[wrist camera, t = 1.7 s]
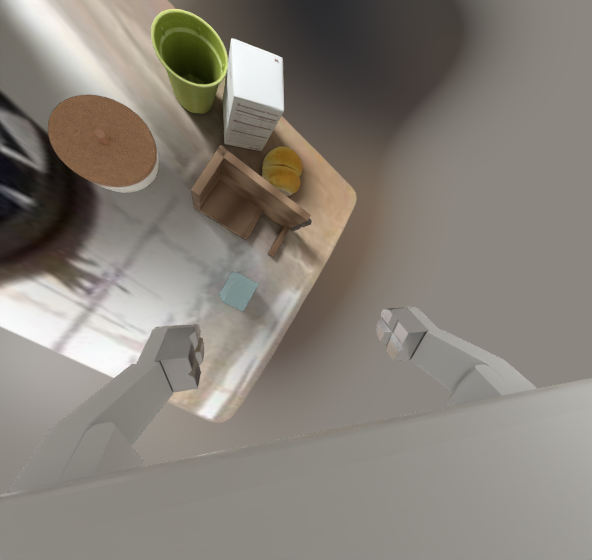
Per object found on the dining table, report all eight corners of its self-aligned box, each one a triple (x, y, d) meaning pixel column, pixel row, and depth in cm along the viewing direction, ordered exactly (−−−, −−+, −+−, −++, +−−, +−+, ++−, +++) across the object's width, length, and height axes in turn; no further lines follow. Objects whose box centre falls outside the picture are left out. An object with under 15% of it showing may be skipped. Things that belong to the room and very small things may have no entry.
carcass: (194, 207, 38) (191, 189, 29) (216, 173, 39) (220, 144, 30) (276, 259, 45) (295, 257, 36) (293, 228, 46) (316, 219, 37)
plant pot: (183, 52, 36) (176, -9, 28) (233, 97, 40) (240, 54, 32) (150, 93, 35) (134, 41, 27) (205, 136, 38) (205, 101, 30)
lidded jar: (97, 115, 32) (58, 61, 24) (174, 154, 37) (165, 120, 28) (69, 181, 32) (19, 149, 23) (152, 212, 36) (135, 195, 27)
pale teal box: (218, 294, 41) (222, 301, 32) (232, 271, 41) (239, 273, 33) (240, 305, 42) (249, 315, 34) (253, 283, 43) (264, 287, 35)
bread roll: (301, 159, 46) (310, 150, 42) (295, 200, 46) (303, 195, 42) (264, 143, 43) (270, 132, 39) (257, 188, 43) (262, 180, 39)
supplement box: (221, 102, 39) (230, 33, 27) (261, 113, 42) (284, 56, 30) (222, 145, 39) (232, 95, 28) (262, 153, 42) (285, 111, 31)
